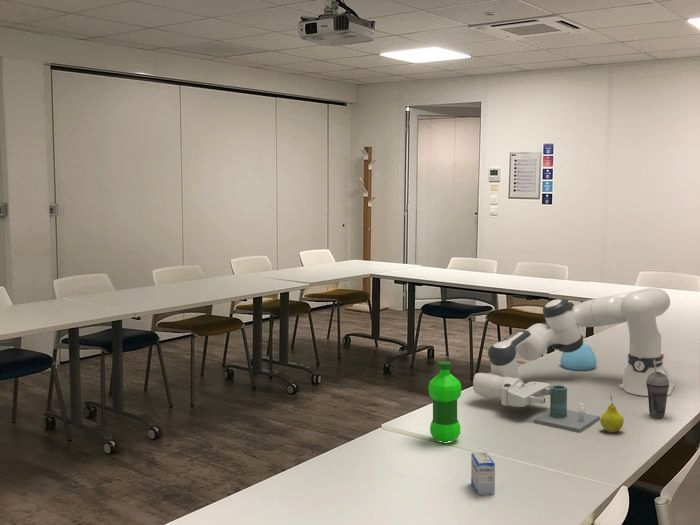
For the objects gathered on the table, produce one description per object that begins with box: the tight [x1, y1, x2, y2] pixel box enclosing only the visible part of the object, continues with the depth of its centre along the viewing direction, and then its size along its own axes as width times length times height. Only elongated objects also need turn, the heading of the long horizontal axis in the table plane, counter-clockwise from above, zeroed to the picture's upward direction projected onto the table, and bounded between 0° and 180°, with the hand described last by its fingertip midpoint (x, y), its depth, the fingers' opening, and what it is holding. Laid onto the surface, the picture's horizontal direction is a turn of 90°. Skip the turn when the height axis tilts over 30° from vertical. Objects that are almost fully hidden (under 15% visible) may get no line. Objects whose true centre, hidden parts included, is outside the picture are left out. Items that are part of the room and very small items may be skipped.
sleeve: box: [549, 384, 568, 419], centre depth 243 cm, size 5×5×10 cm
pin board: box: [533, 402, 601, 434], centre depth 241 cm, size 16×16×7 cm
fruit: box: [599, 396, 624, 434], centre depth 230 cm, size 7×7×12 cm
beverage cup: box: [646, 359, 670, 420], centre depth 242 cm, size 7×7×20 cm
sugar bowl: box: [560, 343, 598, 371], centre depth 311 cm, size 15×15×12 cm
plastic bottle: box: [428, 360, 462, 442], centre depth 225 cm, size 10×10×25 cm
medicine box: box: [470, 451, 496, 496], centre depth 190 cm, size 8×4×9 cm, turn 5°
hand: (550, 397), depth 244 cm, fingers open, 8 cm apart
